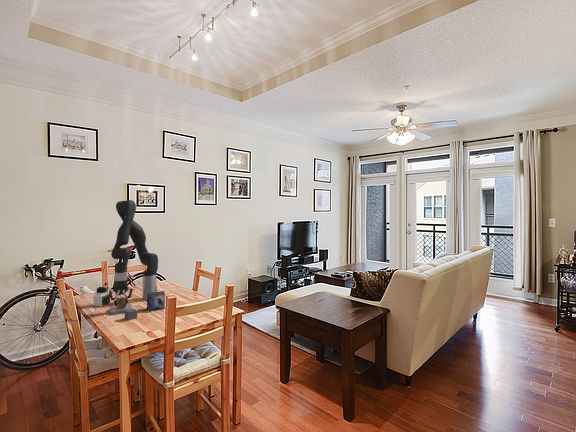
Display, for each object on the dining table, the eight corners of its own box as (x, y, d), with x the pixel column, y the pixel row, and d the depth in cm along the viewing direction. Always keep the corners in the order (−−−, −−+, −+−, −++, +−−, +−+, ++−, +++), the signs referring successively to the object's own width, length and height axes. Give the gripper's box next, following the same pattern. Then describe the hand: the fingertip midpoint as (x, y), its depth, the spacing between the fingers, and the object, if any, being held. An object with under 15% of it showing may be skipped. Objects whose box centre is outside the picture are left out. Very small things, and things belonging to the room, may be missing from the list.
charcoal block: (133, 316, 193) (133, 308, 193) (137, 318, 190) (137, 310, 190) (124, 318, 189) (124, 310, 189) (128, 320, 186) (128, 312, 186)
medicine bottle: (102, 306, 210) (102, 288, 210) (93, 305, 211) (93, 288, 211) (110, 303, 217) (110, 286, 217) (101, 302, 218) (101, 285, 218)
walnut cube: (124, 304, 206) (124, 297, 206) (125, 306, 202) (125, 299, 202) (116, 305, 203) (116, 298, 203) (116, 308, 199) (116, 300, 199)
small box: (147, 311, 203) (147, 295, 202) (146, 308, 209) (146, 292, 208) (164, 309, 208) (165, 293, 207) (163, 306, 213) (163, 290, 213)
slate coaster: (130, 306, 211) (130, 303, 211) (132, 312, 201) (132, 308, 201) (109, 309, 204) (109, 306, 204) (110, 315, 194) (110, 311, 194)
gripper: (132, 276, 209) (132, 302, 209) (107, 279, 201) (107, 305, 202) (134, 279, 203) (133, 305, 203) (108, 281, 195) (108, 308, 195)
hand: (120, 305), depth 202 cm, fingers closed on walnut cube, 5 cm apart
